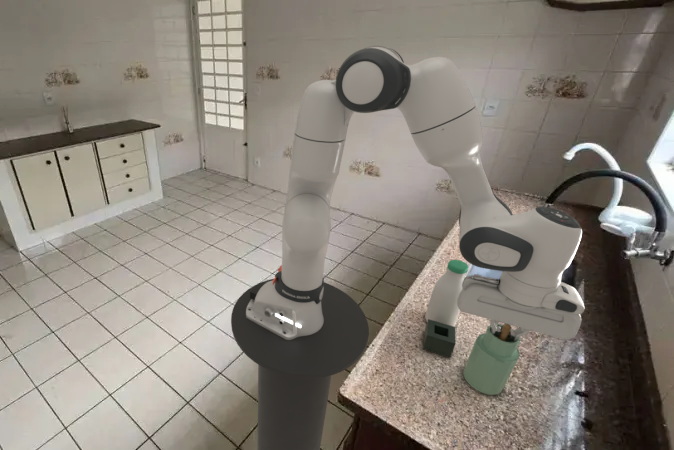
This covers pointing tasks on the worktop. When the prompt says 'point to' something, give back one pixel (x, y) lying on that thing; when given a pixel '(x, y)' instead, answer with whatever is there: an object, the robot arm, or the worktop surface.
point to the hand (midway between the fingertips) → (502, 336)
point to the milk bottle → (447, 294)
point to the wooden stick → (504, 332)
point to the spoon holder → (439, 338)
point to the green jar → (491, 362)
